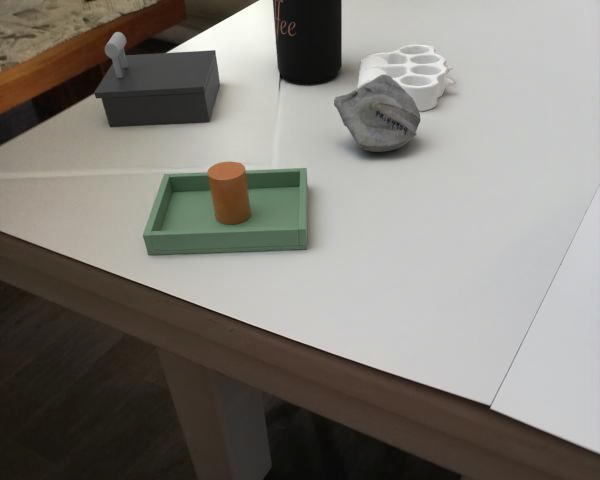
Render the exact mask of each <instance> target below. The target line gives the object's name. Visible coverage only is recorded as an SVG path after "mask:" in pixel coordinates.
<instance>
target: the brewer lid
mask: <svg viewBox="0 0 600 480" xmlns="http://www.w3.org/2000/svg"><path fill="white" fill-rule="evenodd" d="M126 45H127V37H126V35H124V34H123V33H122V32H121V31H116V32H114V33H113V34H112V36H111V38H109V41H108V42H107V43H106V45H105V46H104V53H105V55H106V56H107V57H108V58H109V59H111V61H112V64H111V65H110V67H109V68H108V70H107V72H106V73H105V75H104V77H103V78H102V79H101V82H100V83H99V84H98V86H97V87H96V89H95V90H94V93H93V94H94V97H95V99H102V98H115V97H133V96H152V95H170V94H188V93H204V92H205V89H206V86H207V83H208V79H209V76H210V73H211V70H212V67H213V63H214V60H215V57H216V58H217V53H216V52H217V51H216V50H215V49H210V50H195V51H193V50H192V51H178V52H176V51H175V52H163V53H162V52H160V53H144V54H127V55H126V52H125V46H126Z"/></svg>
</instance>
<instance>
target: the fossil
mask: <svg viewBox="0 0 600 480" xmlns="http://www.w3.org/2000/svg"><path fill="white" fill-rule="evenodd" d="M333 106H334V107H335V108H336V110H337V112H338V114H339V116H340V118H341V121H342V123H343V125H344V126H345V128H346V129H347V130H348V131H349V133H350V135H351V136H352V137H353V140H354V142H355V143H356V144H357V145H358V147H359V148H361V149H362V150H364V151H367V152H372V153H376V152H377V153H378V152H379V153H384V152H390V151H393V150H397V149H401V148H402V147H403V146H405V145H406V144H407V143H408V142H409V141H410V140H412V139H414V138H415V137H416V136H417V130H418V128H419V126H420V123H421V114H420V111H419V110H418V108H417V106H416V104H415V102H414V100H413V98H412V97H411V96H410V95H409V94H408V93H407V92H406V91H405V90H404V89H403V88H402V87H401V86H400V85H399V84H398V83H397V82H396V81H395V80H393V79H392V78H391V77H390V76H388V75H380V76H378V77H377V78H375V79H374V80H372V81H371V82H369V83H367V84H365V85H364V86H362V87H360V88H359V89H358V90H357V89H356V90H355V89H354V90H353V91H351V92H350V93H349V92H348V93H346V94H343V95H338V96H335V97H334V99H333Z"/></svg>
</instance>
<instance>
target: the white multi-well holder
mask: <svg viewBox="0 0 600 480" xmlns="http://www.w3.org/2000/svg"><path fill="white" fill-rule="evenodd" d="M359 63H360V65H359V71H358V81H357V85H356V91H357V90H358V89H359V88H360V87H362V86H364V85H365V84H367V83H369V82H371V81H372V80H374V79H375V78H377V77H378V76H380V75H388V76H390V77H391V78H392V79H393V80H395V81H396V82H397V83H398V84H399V85H400V86H401V87H402V88H403V89H404V90H405V91H406V92H407V93H408V94H409V95H410V96H411V97H412V98H413V100H414V102H415V104H416V106H417V108H418V110H419V112H424V111H425V112H426V111H429V110H431V109H434V108H435V107H436V106H437V105H438V99H439V98H440V97H442V96H443V94H444V93H445V90H446V88H448V87H450V86H453V85H454V84H456V82H455V81H454V80H452V79H450V78H449V77H448V73H449V72H450V71H452V70H453V69H454V68H453V67H451V66H449V65H447V59H445V57H444V56H443V55H440V54H437V53H436V48H435V47H434V46H432V45H427V44H415V43H414V44H408V45H403V46H401V47H399V48H398V49H397V50H394V51H390V52H389V51H388V52H386V51H385V52H383V51H381V52H375V53H370V54H367V55H366V56H364V57H363V58H362V59H360V61H359Z"/></svg>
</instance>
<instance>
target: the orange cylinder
mask: <svg viewBox="0 0 600 480" xmlns="http://www.w3.org/2000/svg"><path fill="white" fill-rule="evenodd" d="M246 171H247V169H246V166H245V165H244V164H243V163H240V162H237V161H222V162H218V163H215V164H213V165H211V166H210V167H209V169H208V170H207V172H208V179H209V185H210V190H211V196H212V201H213V207H214V213H215V218H216V220H217V221H218V222H220V223H222V224H227V225H233V224H239V223H242V222H244V221H246V220H247V219H248V218H249V217H250V215H251V209H250V201H249V193H248V185H247V178H246Z"/></svg>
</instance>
